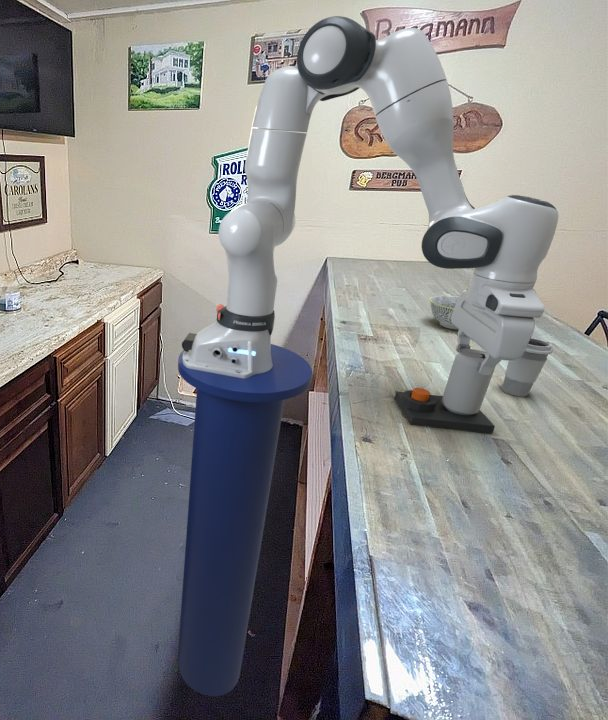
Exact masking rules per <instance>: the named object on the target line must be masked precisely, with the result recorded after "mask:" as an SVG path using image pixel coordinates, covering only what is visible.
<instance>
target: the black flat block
mask: <svg viewBox="0 0 608 720" xmlns="http://www.w3.org/2000/svg"><path fill="white" fill-rule="evenodd" d="M412 391H413V389H409V390H404V391H400V390H399V391H398V390H397V391H395V394H394V400H395V401H396V403H397V405H398V407H399V408H400V410H401V411H402V413H403V414H404V416H405V418H406V419H407V421H408V423H409V425H411V426H412V425H413V426H421V427H430V428H438V429H447V430H455V431H456V430H457V431H464V432H465V431H466V432H472V433H482V434H483V433H484V434H493V433H494V430H495V427H496V426H495V424H494V423H493V422H492V421H491V420H490V419H489V418H488V417H487V416H486V414H484V412H483V411H481V409H480V411H479V412H478V413H476V414H473V415H461V414H456V413H453V412H451V411H449V410H447V409H446V408H445V407H444V405H443V404H442V403H441V400H442V397H443V395H438V394H430V396H429V399H428V401H426V402H424V401H418V400H415V399H413V398H411V395H412Z"/></svg>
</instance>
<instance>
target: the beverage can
mask: <svg viewBox="0 0 608 720" xmlns="http://www.w3.org/2000/svg"><path fill="white" fill-rule="evenodd" d="M485 353H486V351H485V350H480V349H473V348H470V349H462V350H460V351H459V353H457V354H456V355H455V357H454V359H453V362H452V365H451V369H450V372H449V375H448V378H447V381H446V384H445V387H444V391H443V394H442V396H443V397H442V400H441V403H442V404H443V405H444V407H445V408H446V409H447V410H449V411H451V412H453V413H456V414H461V415H473V414H476V413H478V412H479V411H480V410H481V407H482V405H483V402H484V399H485V396H486V394H487V392H488V388H489V386H490V383H491V381H492V378H493V375H494V372H495V369H496V366H495V367H494V368H493V370H492V373H491V374H490V375H482V374H480V373H479V372H478V371H477V367H478V364H479V362H483V361H484V359H485V358H486V357H485Z"/></svg>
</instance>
